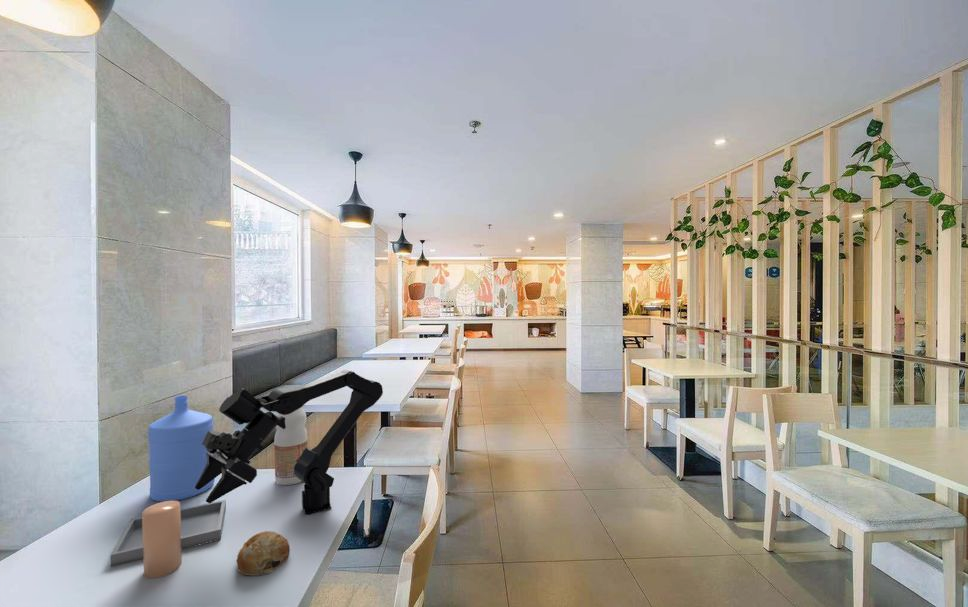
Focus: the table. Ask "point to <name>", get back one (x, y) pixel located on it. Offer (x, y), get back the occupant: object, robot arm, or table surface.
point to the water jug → (178, 453)
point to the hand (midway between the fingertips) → (201, 495)
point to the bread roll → (262, 553)
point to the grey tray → (195, 530)
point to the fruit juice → (289, 446)
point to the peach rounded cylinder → (161, 539)
